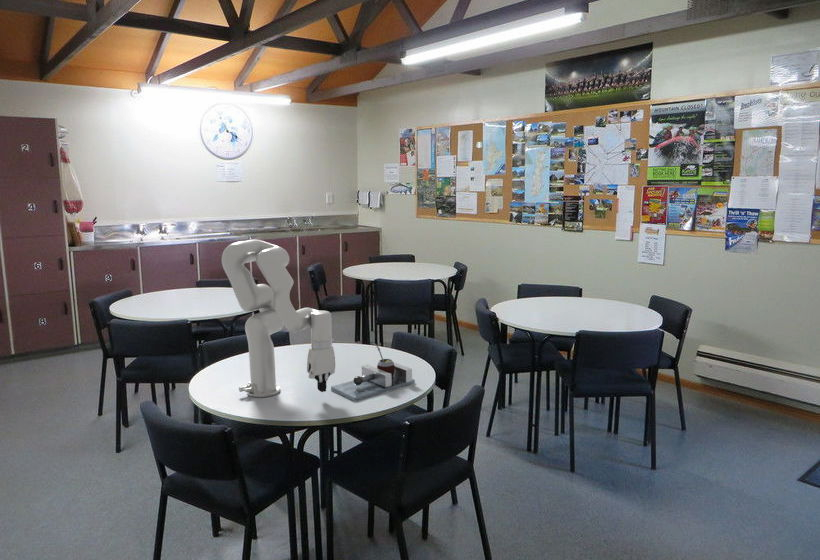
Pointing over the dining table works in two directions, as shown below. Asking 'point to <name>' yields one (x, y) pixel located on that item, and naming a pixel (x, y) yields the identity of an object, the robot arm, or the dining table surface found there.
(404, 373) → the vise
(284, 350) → the dining table surface
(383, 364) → the mate gourd
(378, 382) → the vise jaw
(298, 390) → the dining table surface
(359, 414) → the dining table surface
